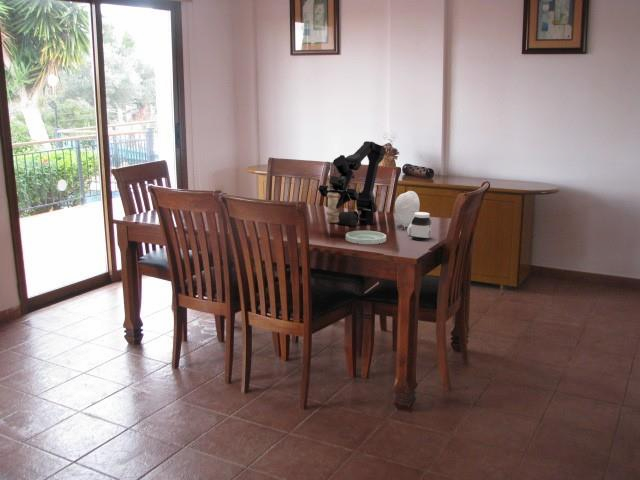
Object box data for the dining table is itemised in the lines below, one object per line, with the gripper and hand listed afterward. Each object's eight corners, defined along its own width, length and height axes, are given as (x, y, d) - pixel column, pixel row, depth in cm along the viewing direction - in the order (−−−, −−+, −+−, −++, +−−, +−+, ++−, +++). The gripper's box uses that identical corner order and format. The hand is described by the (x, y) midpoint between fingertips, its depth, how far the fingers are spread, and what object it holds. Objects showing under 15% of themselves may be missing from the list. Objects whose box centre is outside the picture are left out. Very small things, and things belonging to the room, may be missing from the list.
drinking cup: (336, 217, 355) (371, 219, 345) (330, 228, 351) (366, 230, 340) (331, 206, 350) (366, 208, 340) (325, 217, 346) (361, 219, 336)
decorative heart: (410, 231, 334) (412, 196, 330) (389, 229, 339) (390, 193, 335) (422, 224, 350) (424, 190, 346) (402, 222, 354) (403, 188, 350)
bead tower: (338, 220, 323) (339, 192, 320) (338, 222, 318) (339, 194, 315) (326, 220, 323) (327, 191, 320) (326, 222, 318) (327, 194, 315)
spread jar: (423, 242, 315) (425, 216, 312) (400, 238, 321) (402, 213, 318) (434, 236, 325) (436, 212, 322) (412, 233, 331) (413, 209, 328)
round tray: (384, 235, 326) (384, 231, 326) (387, 244, 308) (387, 240, 308) (345, 234, 326) (345, 230, 326) (346, 243, 309) (346, 239, 308)
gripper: (320, 167, 323) (307, 194, 316) (356, 171, 314) (343, 199, 307) (328, 182, 331) (316, 209, 325) (364, 186, 322) (352, 214, 316)
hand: (331, 207), depth 318 cm, fingers closed on bead tower, 5 cm apart
